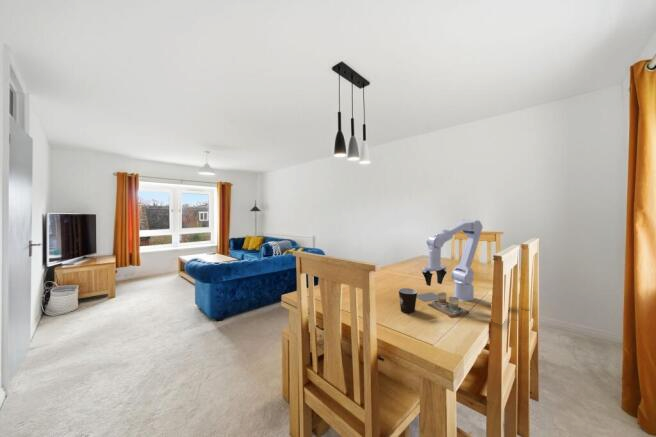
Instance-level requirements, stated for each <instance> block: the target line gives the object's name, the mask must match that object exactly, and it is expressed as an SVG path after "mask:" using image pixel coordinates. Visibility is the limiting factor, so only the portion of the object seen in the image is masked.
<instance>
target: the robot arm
mask: <svg viewBox="0 0 656 437" xmlns="http://www.w3.org/2000/svg"><path fill="white" fill-rule="evenodd" d="M483 227H484V226H483V224H482V223H481V221H480V220H471V219H469V220H468V219H462V220H460V221H458V223H457V224H456V225H454V226H452V227H451V228H449V229H446V228H445V229H441V231H440V232H438V233H435V235H430V236H429V237H428V238H427V240H426V245H427V249H428V265H427V266H425V267H422V268H421V274H422V275H423V277H424V280H425V283H426V286H429V287H430V286H431V284H432V278H433V274H434V273H432V272H436V280H437V281H436V282H437V284H438V285H442V284H443V280H444V277H445V276H446V275H447V266H445V265H441V262H442V261H441V260H442V259H441V258H442V257H441V256H442V255H441V254H442V252H441V251H442V248H443V246H444V244H446V243H447V242H448V241H450V240H452V239H453V236H454V235H456V234H459V233H460V232H462V233H463V234H464V235H466V238H467V240H466V243H465V245H464V246H465V247H464V248H463V252H462V255H461V259H460V262H459V264H456V265H455V266H454V268H453V270H452V271H451V278H452V279H453V282H454V292H453V295H451V296H452V297H457V298H458V301H460V302H467V301H468V302H469V301H475V298H474V295H475V294H474V291H475V290H474V286H473V282H474V272H475V271H474V270H473V269H472V268H471V267H472V263H473V262H474V257H475V254H476V250H477V247H478V245H479V241H480V238H481V233H482V230H483V229H484V228H483Z"/></svg>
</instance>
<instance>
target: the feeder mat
mask: <svg viewBox="0 0 656 437" xmlns="http://www.w3.org/2000/svg"><path fill="white" fill-rule="evenodd" d="M416 299H418V300H420V301H422V302H424V303H427V302H432V301H435V300H438V294H436V293H434V292H425V293H420V294H418V293H417V297H416Z"/></svg>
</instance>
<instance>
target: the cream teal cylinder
mask: <svg viewBox="0 0 656 437" xmlns="http://www.w3.org/2000/svg"><path fill="white" fill-rule="evenodd" d="M452 296H453V295H450V296H449V297H448V302H449V309H451V310H453V311H457V310H458V307H459V300H458V298H457V297H452Z"/></svg>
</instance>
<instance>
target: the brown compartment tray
mask: <svg viewBox="0 0 656 437" xmlns="http://www.w3.org/2000/svg"><path fill="white" fill-rule="evenodd" d="M437 301H438V300H433V301H431V303H427V306H428V307H430V308H433V309H434V310H437V311H438V312H441V313H442V314H444V315H447V317H449V318H453V317H457V316H463V315H467V314H470V310H467V309H465V308H462V307H461V306H458V310H457V311H453V310H451V309H449V301H447V300H446V305H440V304H438V303H437Z"/></svg>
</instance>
